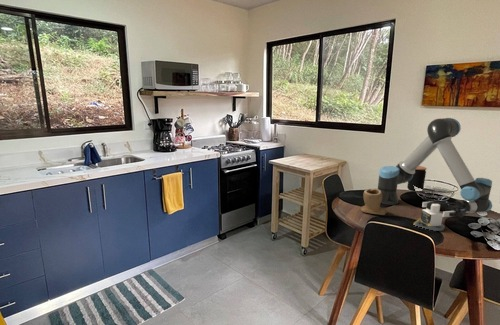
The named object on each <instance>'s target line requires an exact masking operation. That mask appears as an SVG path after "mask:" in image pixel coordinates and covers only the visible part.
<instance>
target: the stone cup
mask: <svg viewBox="0 0 500 325" xmlns="http://www.w3.org/2000/svg"><path fill="white" fill-rule="evenodd" d="M362 195H363V201H364V202H363V203H364V205H362V206H361V207H360V211H361V212H363V213H367V214H373V215H380V216H385V215H386V214H387V213H388V210H389V208H388V207H387V208H386V207H381V201H382V192H381V191H380V190H378V188H368V189H365V190H364V191H363V194H362Z"/></svg>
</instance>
